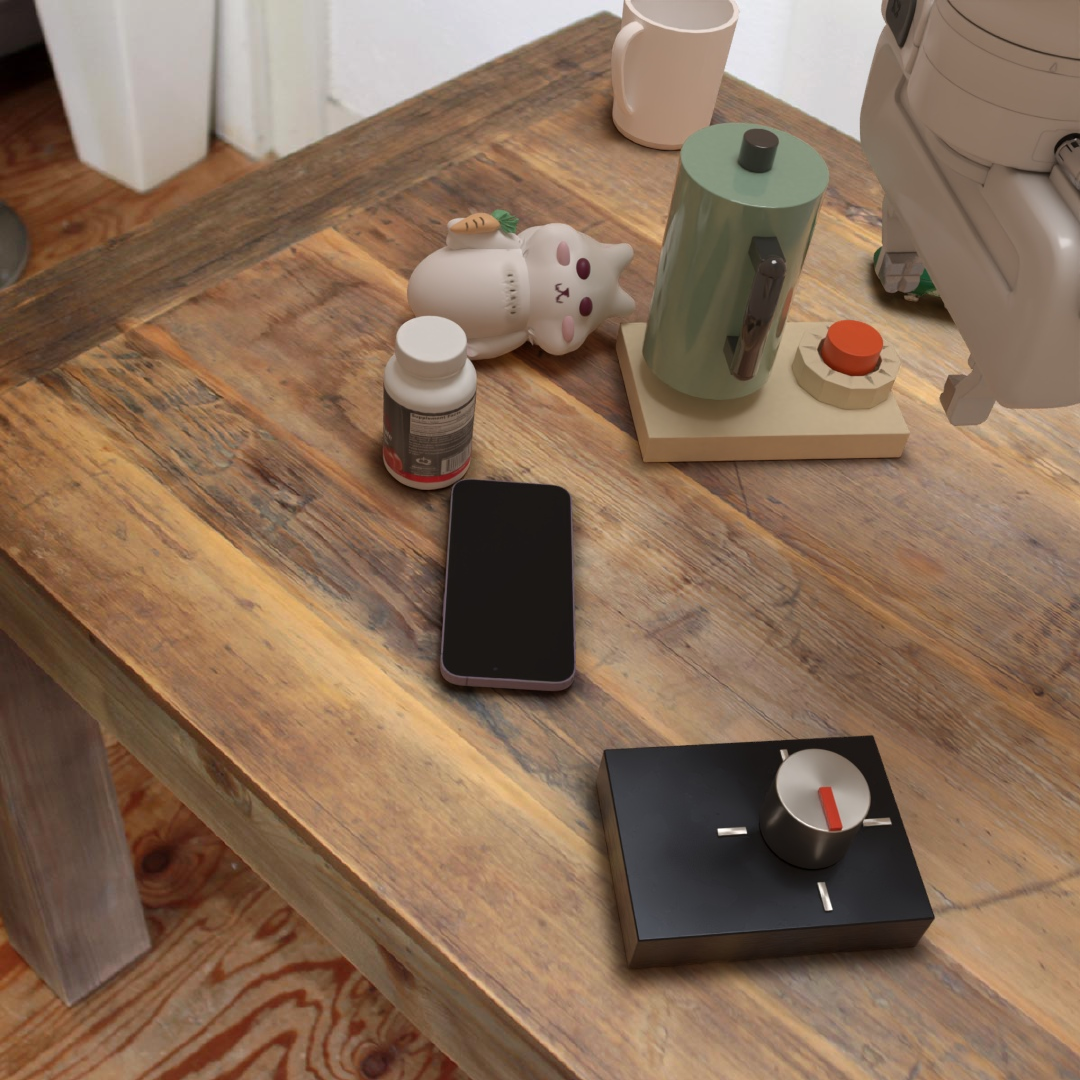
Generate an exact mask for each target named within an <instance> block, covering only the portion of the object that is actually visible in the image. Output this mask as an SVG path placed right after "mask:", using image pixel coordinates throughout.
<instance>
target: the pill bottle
mask: <svg viewBox="0 0 1080 1080" xmlns="http://www.w3.org/2000/svg"><path fill="white" fill-rule="evenodd" d="M394 343H395V344H394V345H395V346H394V353H393V354H392V356H391V357H390V358H389V359H388V361H387V363H386V365H385V367H384V370H383V380H382V381H383V382H382V388H383V389H382V390H383V391H382V392H383V394H382V395H383V397H382V400H383V402H382V411H383V412H382V459H383V463H384V467H385V468H386V470H387V472H388V473H389V474H390V475H391V476H392V477H393V478H394V479H395V480H396V481H398V482H399V483H400V484H403V485H405V486H407V487H409V488H413V489H417V490H421V491H422V490H428V491H429V490H437V489H438V490H439V489H443V488H446V487H449V486H451V485H454V484H455V483H457V482H458V481H460V480H461V478H463V477H464V476H465V474H466V473H467V471H468V470H469V467H470V464H471V461H472V460H471V459H472V452H473V451H472V449H473V436H474V425H475V414H476V413H475V412H476V403H477V388H478V376H477V371H476V368H475V366H474V364H473V362H472V360H469V359H468V358H467V338H466V335H465V332H464V331H463V329H462V328H461V327H460V326H459V325H458V324H456V323H455V322H453V321H451V320H449V319H446V318H443V317H438V316H422V317H413V318H411V319H409V320H408V321H405V322H404V323H403V324H401V326H400V327H399V328H398V329H397V332H396V336H395V342H394Z"/></svg>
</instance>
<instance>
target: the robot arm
mask: <svg viewBox="0 0 1080 1080" xmlns="http://www.w3.org/2000/svg"><path fill="white" fill-rule="evenodd" d="M880 7H881V8H880V13H881V16H882V19H883V21H884V23H885V25H884V26H883V28H882V29H881V32H880V34H879V37H878V40H877V42H876V45H875V49H874V53H873V57H872V60H871V64H870V69H869V71H868V75H867V76H868V77H867V80H866V85H865V89H864V94H863V98H862V103H861V108H860V113H859V142H860V149H861V151H862V153H863V155H864V157H865V158H866V160H867V162H868V164H869V166H870V168H871V170H872V172H873V173H874V176H875V177H876V179H877V182H878V183H879V185H880V186H881V189H882V190H883V192H884V195H883V198H882V201H881V244H882V245H881V246H882V248H881V251H880V255H879V258H878V261H877V264H876V267H875V269H874V271H875V272H874V273H875V274H876V276H877V277H878V279H879V281H880V283H881V285H882V286H883V289H884V290H885V292H887V293H890V294H893V293H894V294H895V293H896V292H901V293H903V292H911V291H913V290H915V289H916V288H917V286H918V285H919V282H920V275H922V274H923V271H924V268H925V269H926V270H927V272H928V274H929V276H930V278H931V280H932V282H933V284H934V285H935V287H936V289H937V291H938V293H939V295H940V297H941V301H942V300H943V301H942V303H943V305H945V306H946V308H947V309H946V310H947V311H948V313H949V315H950V317H951V319H952V321H953V323H954V324H955V327H956V329H957V330H958V332H959V334H960V336H961V338H962V340H963V341H964V343H965V345H966V348H967V349H968V351H969V353H970V354H969V356H968V358H967V365H968V366H969V368H970V370H971V372H970V373H969V374H968V375H965V374H963V373H961V374H960V373H958V374H948V376H947V378H946V380H945V383H944V384H943V392H941V393H940V394H939V403H940V405H941V407H942V409H943V411H944V414H945V415H946V418H947V420H948V422H949V424H950V425H952V426H954V427H965V426H967V427H968V426H979V425H981V424H983V423H984V422H986V421H987V420H988V419H989V416H990V414H991V412H992V409H993V407H994V405H995V403H996V402H997V403H998V405H999V406H1001V407H1002V408H1005V409H1010V410H1047V409H1057V408H1058V409H1059V408H1068V407H1071V406H1075V405H1078V404H1080V0H881V6H880ZM940 297H939V298H940Z"/></svg>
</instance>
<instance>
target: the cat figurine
mask: <svg viewBox="0 0 1080 1080" xmlns="http://www.w3.org/2000/svg"><path fill="white" fill-rule="evenodd" d="M516 217H517V215H511V212H508V211H507V210H503V209H494V210H493V211H492V212H491V213H490V214H489V213H487V212H486V213H485V212H476V213H473V214H471V215H469V216H467V217H456V218H453V219H451V220H449V221H448V222H447V224H446V230H447V235H446V238H445V244H446V246H443V247H441V248H439V249H437V250H435V251H433V252H432V253H430V254H429V255H427V256H426V257H425V258H424V259H422V260H421V261H420V262H419V263H418V264H417V266H416V267H415V268H414V270H413V271H412V273H411V275H410V277H409V279H408V283H407V286H406V297H407V303H408V305H409V308H410V310H411V312H412V313H413V315H414V316H415V318H417V317H422V316H438V317H443V318H446V319H449V320H451V321H453V322H455V323H456V324H458V325H459V326H460V327H461V328H462V329H463V331H464V332H465V335H466V338H467V358H468V359H469V360H470V361H481V360H491V359H495V358H497V357H501V356H504V355H506V354H508V353H510V352H513V351H514V350H516V349H518V348H519V347H521V346H523V345H524V344H525V343H526V342H528V343H531V345H532V346H534V345H535V346H539V347H540V348H541V349H542V350H543V351H545V352H546V353H548V354H550V355H553V356H563V355H565V354H569V353H572V352H574V351H576V350H578V349H579V348H580V347H581V346H582V345H583V344H584V343H585V341H586V340H587V338H588V336H589V335H590V334H592V333H593V332H594V331H595V330H596V329H598V328H599V326H600V325H601V324H603V323H604V322H605V321H606V320H608V319H611V318H618V319H620V318H622V319H623V318H628V317H631V316H632V315H633V314H634V313H635V311H636V308H637V304H636V301H635V300H634V298H633V297H632V296H631V295H630V294H628V293H627V292H626V291H625V290H623V288H622V287H621V286H620V284H619V280H620V278H621V275H622V274H623V273H624V271H625V270H626V269H627V268H628V267H629V265H631V263H632V261H633V259H634V255H635V252H634V249H633V247H632V246H631V245H630V244H629V243H627V242H621V243H605V242H600V241H598V240H596V239H595V238H594V237H592V236H590V235H588V234H587V233H583V232H582V231H579V230H576V229H575V228H574V227H572V226H571V225H569V224H567V223H562V222H551V223H546V224H544V225H537V226H531V227H528V228H525V229H524V230H522V231H521V232H519V233H518V234H516V233H517V226H518V223H519V220H520V219H519V218H516Z"/></svg>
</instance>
